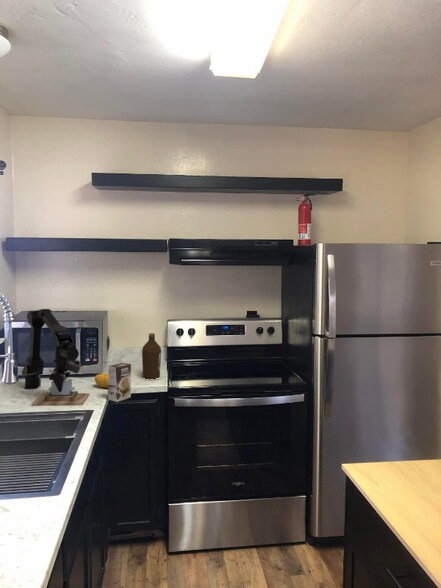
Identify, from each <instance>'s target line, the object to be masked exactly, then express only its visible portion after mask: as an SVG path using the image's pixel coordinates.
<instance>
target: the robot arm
mask: <svg viewBox="0 0 441 588" xmlns="http://www.w3.org/2000/svg"><path fill="white" fill-rule="evenodd" d="M26 319H27V323H28V325H29V327H30V336H29V337H30V338H29V339H30V341H29V356H27V358H26V360H25V364H24V366H23V368H22V370H21V376H22V377H24V386H23V389H25V390H26V389H33V390H34V389H38V388H39V387H41V385H42V378H41V376H40V375H43V374H44V367H45V366H44V365H45V364H44V362H45V361H44V360H43V359H42V357H41V345H42V344H41V343H42V341H41V340H42V328H43V327H44V325H46V327H48V329H49V330H50V332H51V333H50V337H51V340H52V341H53V345H52V346H53V347H54V359H53V363H54V368H53V371H52V372H51V373H50V374H49V376H48V380H49V381H53V382H54V383H55V385H56V387H57V389H58V391H59V392H61V391H62V386H63V381H64V380H65V379H66V378H67V379H68V377H69V376H70V375H71V374H72V373H74V374H76V375H77V374H78V373H79V372H80V370H81V368H82V364H81V361H80V360H78V357H79V354H80V353H79V349H77V348H76V347H75V339H74V338H73V336H72V333H71V331H70V330H69V329H68V328H67V327H66V326H63V325H61V323H60V322H59V321H58V320H57V318H56V317H55V316H54V314H53V313H52V310H51V309H50V308H41V309H39V310H37V309H36V310H35V309H34V310H29V312H28V313H27V314H26Z"/></svg>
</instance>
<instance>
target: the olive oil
mask: <svg viewBox="0 0 441 588" xmlns="http://www.w3.org/2000/svg"><path fill="white" fill-rule="evenodd" d="M141 357H142V363H141V364H142V379H143V378H145V379H156V378H159V377H160V378H161V364H162V363H161V361H162V348H161V346H160V344H159V343H158V342H157V341H156V336H155V333H153V332H151V333H148V340H147V341H146V343H145V344H144V345H143V346H142V350H141ZM160 378H159V379H160ZM145 379H144V380H145Z"/></svg>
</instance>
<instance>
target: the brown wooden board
mask: <svg viewBox="0 0 441 588" xmlns="http://www.w3.org/2000/svg"><path fill="white" fill-rule="evenodd" d="M89 396H90V393H89V392H86V393H85V392H84V393H83V392H80V393H79V391H78V390H72V393H71V394H70V395H51V390H49V392H48V393H46V392H45V393H41V394H39V396H38V397H36V399H34V401H33V402H32V403H31V407H37V406H41V407H44V406H45V407H47V406H48V407H49V406H51V407H52V406H54V407H55V406H83V405H84V404H85V403H86V401H87V400H88V398H89Z"/></svg>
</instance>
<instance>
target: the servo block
mask: <svg viewBox="0 0 441 588" xmlns="http://www.w3.org/2000/svg"><path fill="white" fill-rule="evenodd" d="M75 389H76V386H73V379H69V378H68V377H67V378H66V379H65V380H64V381H63V386H62V391H61V392H59V391H58V389H57V387H56V385H55V383H54V382H53V380H51V385H50V387H49V388H48V389H47V390H48V391H51V395H70V394H71V393H72V391H75Z"/></svg>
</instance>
